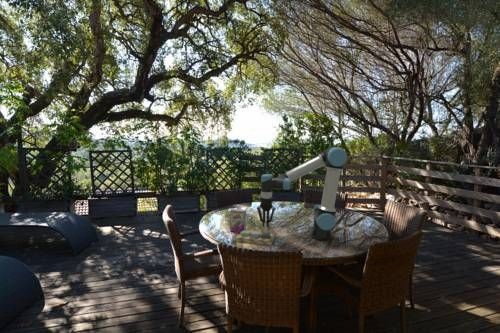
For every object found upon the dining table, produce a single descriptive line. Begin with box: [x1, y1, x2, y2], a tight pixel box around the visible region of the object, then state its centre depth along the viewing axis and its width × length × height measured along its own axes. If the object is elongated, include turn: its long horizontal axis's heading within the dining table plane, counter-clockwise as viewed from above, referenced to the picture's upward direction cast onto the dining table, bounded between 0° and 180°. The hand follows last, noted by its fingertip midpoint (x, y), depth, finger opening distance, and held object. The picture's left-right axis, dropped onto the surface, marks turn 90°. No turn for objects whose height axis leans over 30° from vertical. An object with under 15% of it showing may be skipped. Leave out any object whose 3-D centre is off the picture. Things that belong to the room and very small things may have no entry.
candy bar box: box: [229, 208, 247, 234], centre depth 231 cm, size 11×5×16 cm, turn 70°
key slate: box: [251, 230, 262, 238], centre depth 213 cm, size 5×5×3 cm
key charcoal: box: [261, 231, 272, 239], centre depth 211 cm, size 5×5×3 cm
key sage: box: [241, 230, 252, 237], centre depth 215 cm, size 5×5×3 cm
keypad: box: [235, 231, 276, 246], centre depth 213 cm, size 24×14×3 cm, turn 75°
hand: (265, 231), depth 211 cm, fingers closed
